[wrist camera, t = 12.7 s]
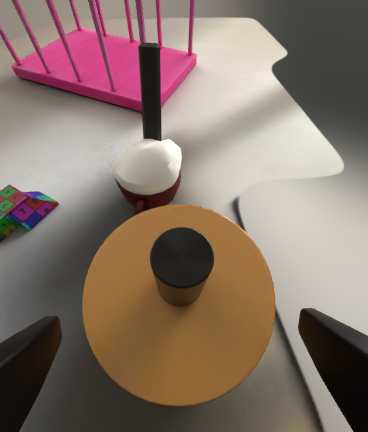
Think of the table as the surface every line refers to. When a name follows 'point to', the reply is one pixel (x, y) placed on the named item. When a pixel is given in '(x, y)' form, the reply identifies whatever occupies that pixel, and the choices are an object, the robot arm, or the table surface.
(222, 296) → the brass lid
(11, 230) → the block
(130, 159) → the cocoa
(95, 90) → the file sorter
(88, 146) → the table surface
